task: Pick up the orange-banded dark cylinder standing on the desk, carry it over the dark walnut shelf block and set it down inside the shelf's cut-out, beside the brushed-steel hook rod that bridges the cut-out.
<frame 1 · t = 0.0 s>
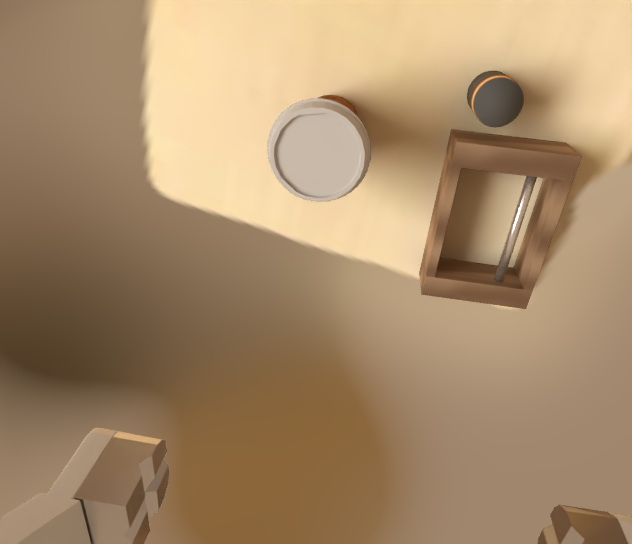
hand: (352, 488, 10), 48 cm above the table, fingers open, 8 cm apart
orange-banded dark cylinder: (489, 93, 50), on the table
hook rod: (508, 216, 57), resting in shelf block
shelf block: (486, 213, 57), on the table
disposable coffee cup: (330, 124, 54), on the table
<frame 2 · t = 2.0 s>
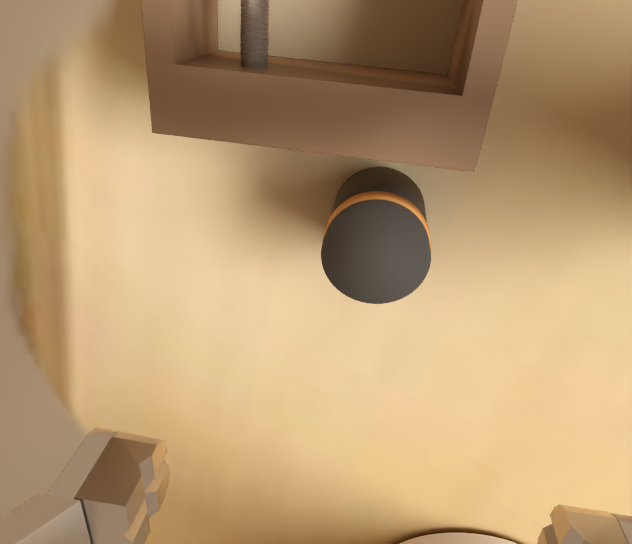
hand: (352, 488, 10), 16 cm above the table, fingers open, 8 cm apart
orange-banded dark cylinder: (378, 211, 24), on the table
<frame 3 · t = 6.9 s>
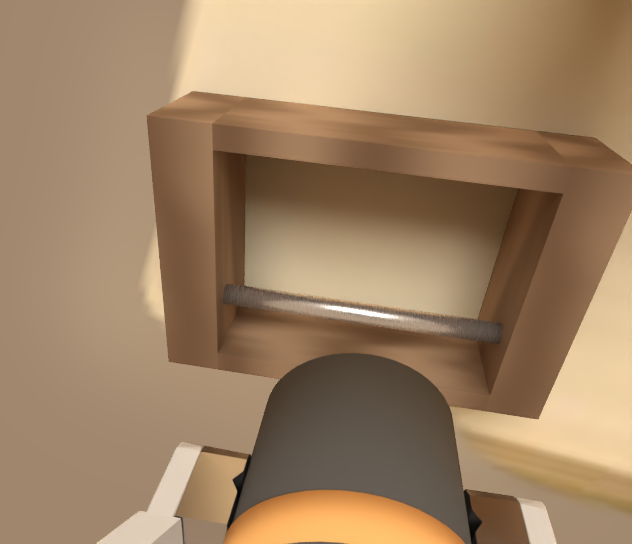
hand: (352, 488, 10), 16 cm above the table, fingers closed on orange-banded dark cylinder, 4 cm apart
orange-banded dark cylinder: (357, 426, 12), point 14 cm above the table, touching gripper
hook rod: (363, 276, 26), resting in shelf block
shelf block: (369, 234, 25), on the table
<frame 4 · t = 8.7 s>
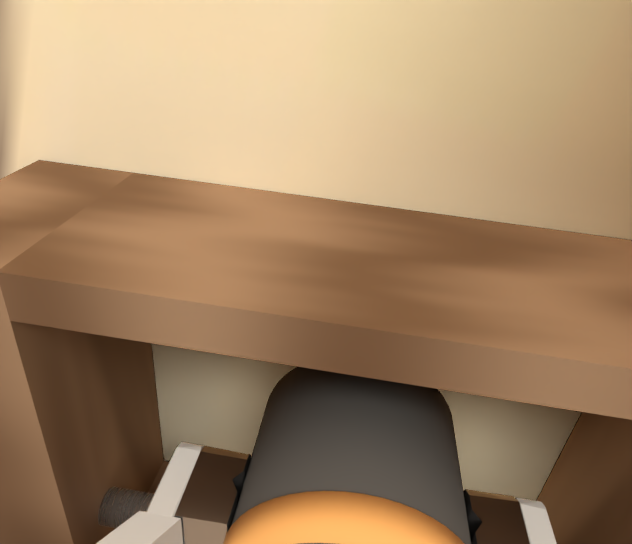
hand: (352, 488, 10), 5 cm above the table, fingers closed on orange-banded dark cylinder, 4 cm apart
orange-banded dark cylinder: (357, 427, 12), point 3 cm above the table, touching gripper
hook rod: (347, 444, 16), resting in shelf block
shelf block: (358, 389, 15), on the table
when the fingers open (3 cm above the table, at t = 9.9 s): orange-banded dark cylinder drops 2 cm, resting in shelf block.
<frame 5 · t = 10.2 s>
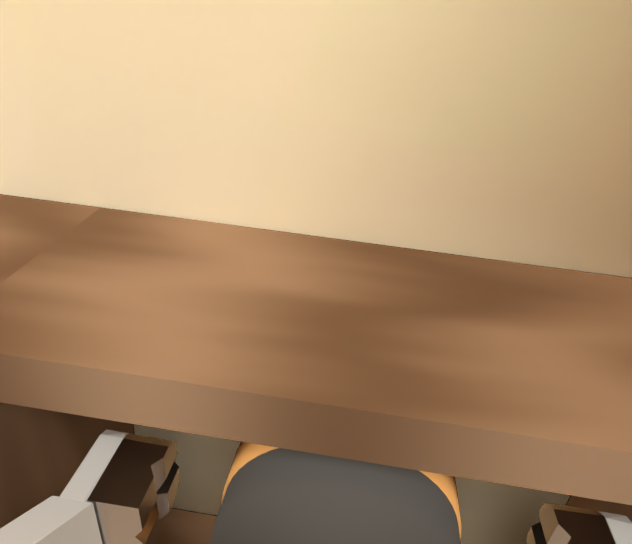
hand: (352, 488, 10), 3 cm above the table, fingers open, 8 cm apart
orange-banded dark cylinder: (353, 375, 13), resting in shelf block
shelf block: (350, 432, 14), on the table
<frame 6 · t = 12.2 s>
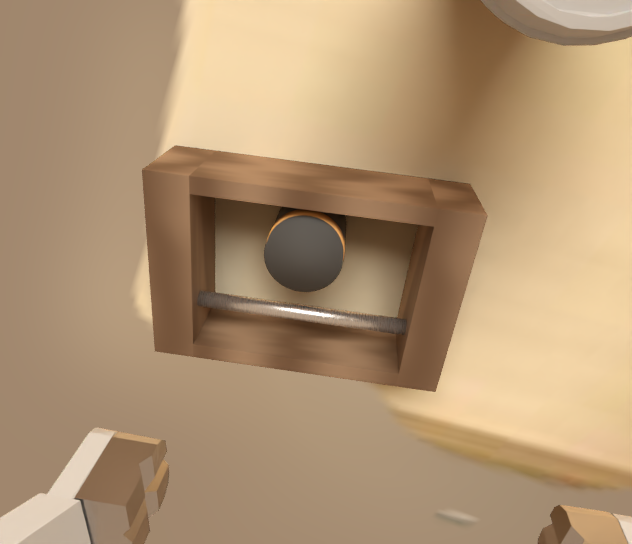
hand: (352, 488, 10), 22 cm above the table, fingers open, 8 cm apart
orange-banded dark cylinder: (312, 222, 32), resting in shelf block
hook rod: (307, 284, 34), resting in shelf block
shelf block: (311, 252, 33), on the table
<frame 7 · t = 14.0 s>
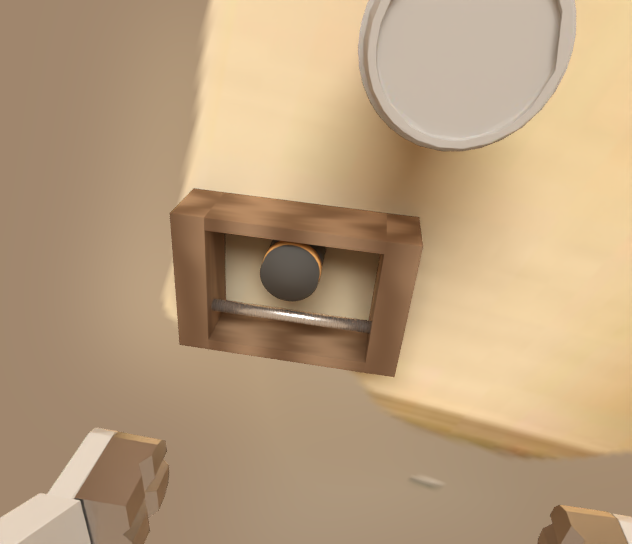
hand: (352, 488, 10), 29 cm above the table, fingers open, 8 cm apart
orange-banded dark cylinder: (299, 245, 41), resting in shelf block
hook rod: (297, 292, 43), resting in shelf block
shelf block: (299, 268, 42), on the table
disposable coffee cup: (441, 30, 32), on the table
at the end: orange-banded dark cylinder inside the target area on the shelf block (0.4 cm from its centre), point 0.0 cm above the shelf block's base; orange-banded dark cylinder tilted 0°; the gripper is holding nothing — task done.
